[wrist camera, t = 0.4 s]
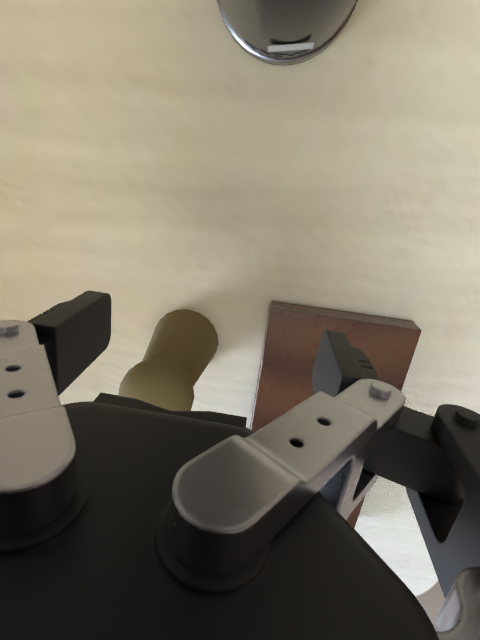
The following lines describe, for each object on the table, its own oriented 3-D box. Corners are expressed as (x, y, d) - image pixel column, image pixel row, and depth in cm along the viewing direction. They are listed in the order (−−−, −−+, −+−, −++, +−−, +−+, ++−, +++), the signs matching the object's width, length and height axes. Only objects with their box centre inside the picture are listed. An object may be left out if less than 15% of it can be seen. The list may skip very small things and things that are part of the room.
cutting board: (270, 300, 32) (270, 308, 30) (413, 321, 32) (422, 330, 30) (238, 499, 41) (236, 515, 39) (348, 517, 41) (352, 534, 39)
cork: (231, 338, 34) (212, 410, 24) (191, 379, 36) (158, 460, 26) (180, 296, 33) (138, 352, 23) (142, 340, 35) (87, 410, 25)
